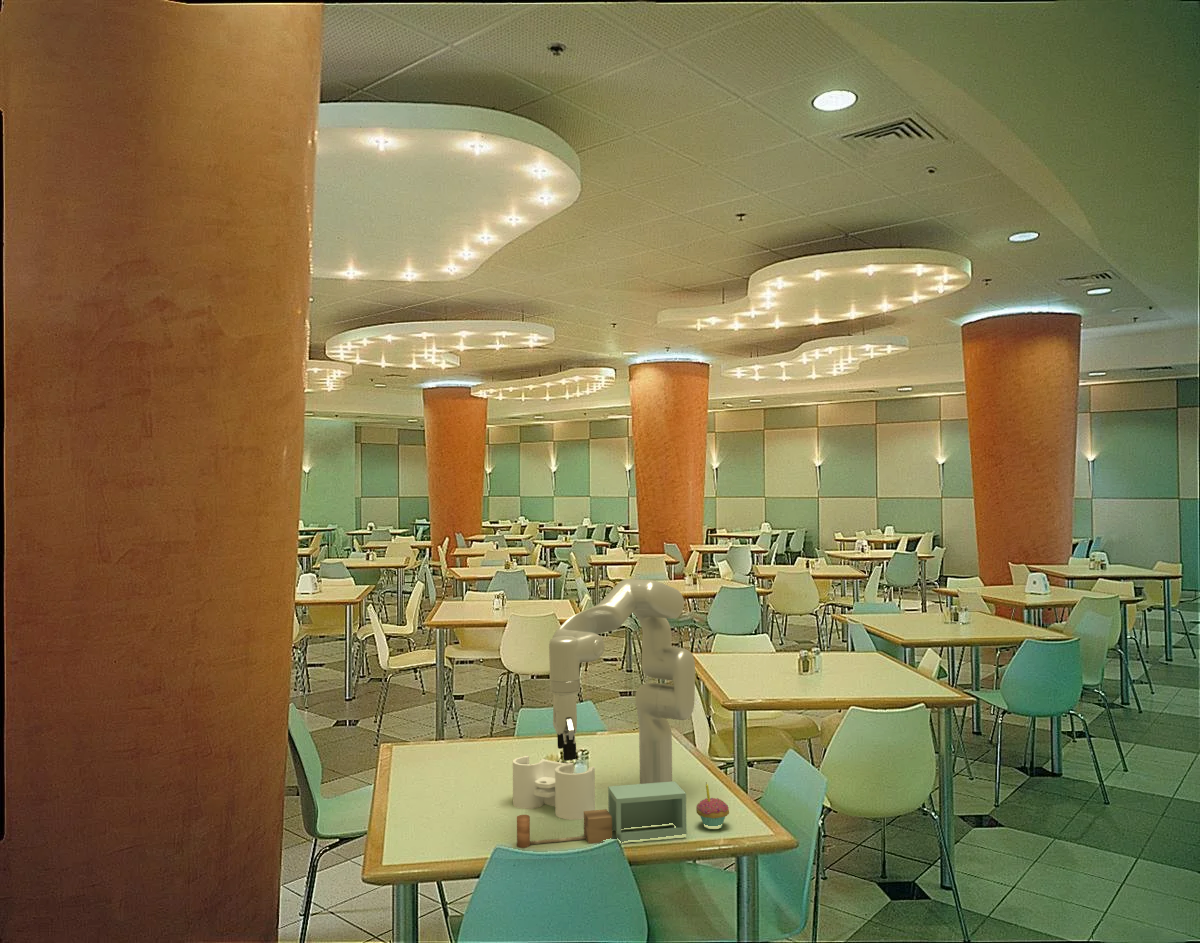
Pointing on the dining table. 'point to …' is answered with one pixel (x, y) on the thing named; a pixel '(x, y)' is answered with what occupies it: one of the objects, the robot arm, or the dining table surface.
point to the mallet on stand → (594, 832)
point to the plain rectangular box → (647, 809)
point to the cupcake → (712, 810)
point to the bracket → (553, 787)
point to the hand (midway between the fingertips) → (566, 753)
